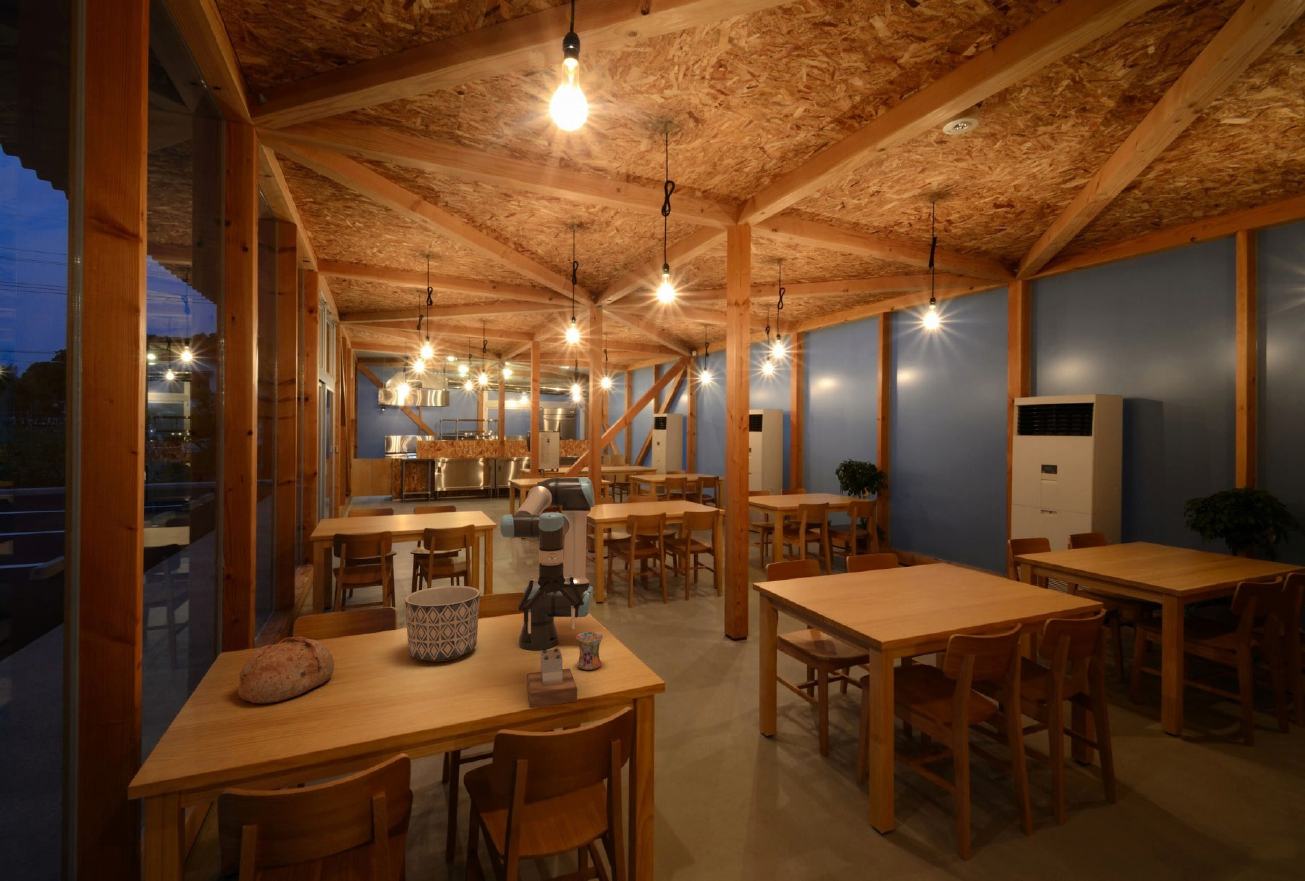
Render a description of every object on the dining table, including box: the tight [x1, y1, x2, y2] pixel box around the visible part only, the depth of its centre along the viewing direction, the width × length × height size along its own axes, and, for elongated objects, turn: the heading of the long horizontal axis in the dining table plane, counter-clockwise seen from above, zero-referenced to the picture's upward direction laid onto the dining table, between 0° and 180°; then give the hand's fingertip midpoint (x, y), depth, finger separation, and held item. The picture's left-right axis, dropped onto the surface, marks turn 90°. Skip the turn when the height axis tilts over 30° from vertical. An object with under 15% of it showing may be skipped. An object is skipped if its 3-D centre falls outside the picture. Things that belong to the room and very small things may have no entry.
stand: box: [526, 668, 578, 709], centre depth 174 cm, size 15×14×4 cm
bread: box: [237, 636, 335, 704], centre depth 178 cm, size 26×23×15 cm
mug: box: [575, 631, 603, 671], centre depth 196 cm, size 12×9×11 cm
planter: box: [404, 585, 481, 663], centre depth 205 cm, size 26×26×22 cm
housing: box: [539, 648, 563, 686], centre depth 174 cm, size 8×6×8 cm
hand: (551, 629), depth 174 cm, fingers open, 13 cm apart
